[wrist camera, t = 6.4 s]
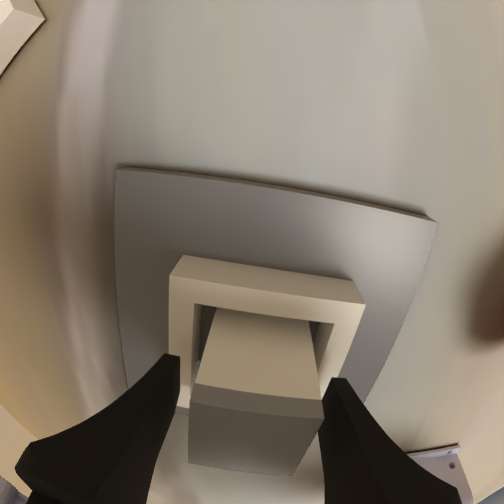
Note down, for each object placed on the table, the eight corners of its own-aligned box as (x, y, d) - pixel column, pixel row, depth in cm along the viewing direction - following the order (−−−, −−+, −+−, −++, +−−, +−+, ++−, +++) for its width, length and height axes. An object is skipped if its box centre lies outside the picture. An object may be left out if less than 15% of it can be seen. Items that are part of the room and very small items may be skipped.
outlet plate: (428, 216, 13) (461, 238, 10) (344, 420, 18) (351, 455, 15) (125, 166, 13) (91, 177, 10) (135, 390, 18) (120, 423, 15)
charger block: (307, 314, 14) (324, 418, 8) (288, 376, 15) (291, 475, 10) (218, 300, 14) (189, 401, 8) (211, 365, 15) (188, 462, 10)
